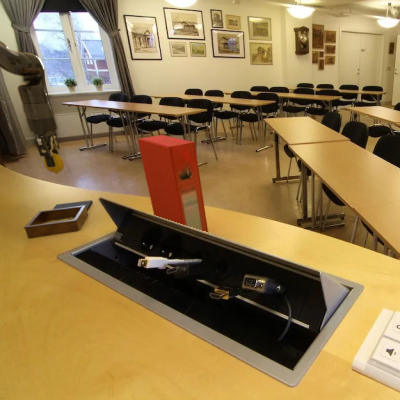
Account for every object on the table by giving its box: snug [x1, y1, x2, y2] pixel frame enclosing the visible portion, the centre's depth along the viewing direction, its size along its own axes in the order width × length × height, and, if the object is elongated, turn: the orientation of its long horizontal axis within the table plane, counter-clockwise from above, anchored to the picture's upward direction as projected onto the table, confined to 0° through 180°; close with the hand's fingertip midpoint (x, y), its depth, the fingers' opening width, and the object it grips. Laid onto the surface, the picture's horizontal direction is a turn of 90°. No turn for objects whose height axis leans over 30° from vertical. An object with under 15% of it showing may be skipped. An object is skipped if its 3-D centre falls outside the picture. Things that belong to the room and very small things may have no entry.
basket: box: [23, 205, 89, 239], centre depth 111 cm, size 14×14×4 cm
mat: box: [52, 199, 93, 212], centre depth 125 cm, size 12×10×1 cm
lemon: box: [43, 153, 65, 175], centre depth 115 cm, size 6×6×8 cm
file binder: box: [137, 134, 209, 233], centre depth 98 cm, size 8×17×32 cm, turn 53°
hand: (54, 164), depth 115 cm, fingers closed on lemon, 5 cm apart
